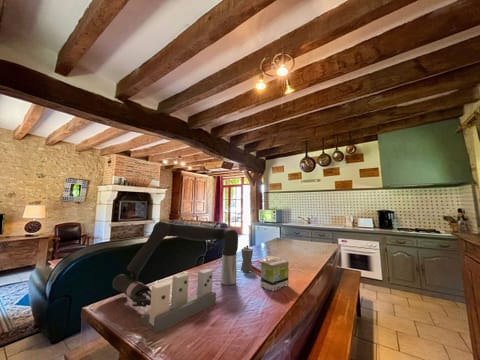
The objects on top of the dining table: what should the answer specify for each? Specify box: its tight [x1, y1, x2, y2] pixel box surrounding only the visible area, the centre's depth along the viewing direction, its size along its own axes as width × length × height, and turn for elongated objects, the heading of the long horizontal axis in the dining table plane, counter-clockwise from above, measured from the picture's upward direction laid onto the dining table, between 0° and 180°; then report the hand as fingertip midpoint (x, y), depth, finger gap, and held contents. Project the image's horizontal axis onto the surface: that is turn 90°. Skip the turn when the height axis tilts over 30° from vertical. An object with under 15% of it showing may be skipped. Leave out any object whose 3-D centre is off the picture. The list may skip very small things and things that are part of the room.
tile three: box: [196, 268, 213, 298], centre depth 100 cm, size 4×6×14 cm
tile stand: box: [139, 291, 217, 334], centre depth 91 cm, size 13×31×5 cm, turn 141°
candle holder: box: [265, 255, 281, 261], centre depth 141 cm, size 10×10×12 cm
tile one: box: [149, 281, 172, 326], centre depth 81 cm, size 4×6×14 cm
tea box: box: [260, 258, 289, 292], centre depth 122 cm, size 15×10×15 cm
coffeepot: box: [240, 245, 254, 273], centre depth 153 cm, size 15×9×18 cm, turn 13°
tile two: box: [170, 272, 190, 309], centre depth 93 cm, size 4×6×14 cm
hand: (157, 304), depth 82 cm, fingers closed
